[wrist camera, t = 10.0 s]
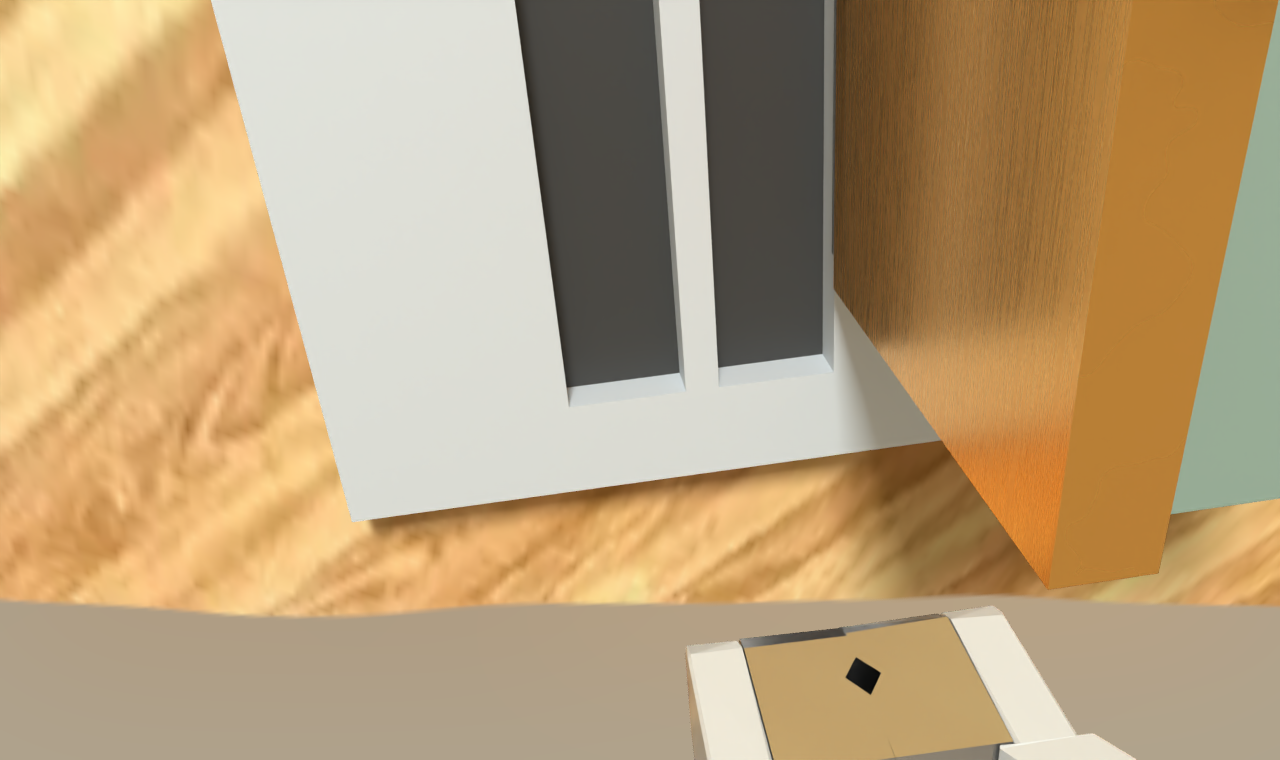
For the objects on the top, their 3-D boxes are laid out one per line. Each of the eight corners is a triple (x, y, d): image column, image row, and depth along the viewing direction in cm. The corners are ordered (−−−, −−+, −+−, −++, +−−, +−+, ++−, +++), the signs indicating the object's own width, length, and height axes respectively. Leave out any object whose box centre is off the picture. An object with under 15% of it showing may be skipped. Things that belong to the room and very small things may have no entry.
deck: (1764, -478, 25) (1835, -494, 23) (1476, 340, 35) (1513, 360, 34) (137, -346, 22) (115, -356, 21) (357, 494, 33) (352, 522, 32)
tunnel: (1332, -245, 25) (1770, -274, 16) (1219, 292, 31) (1486, 468, 23) (924, -206, 24) (1158, -215, 15) (899, 334, 31) (1053, 531, 22)
